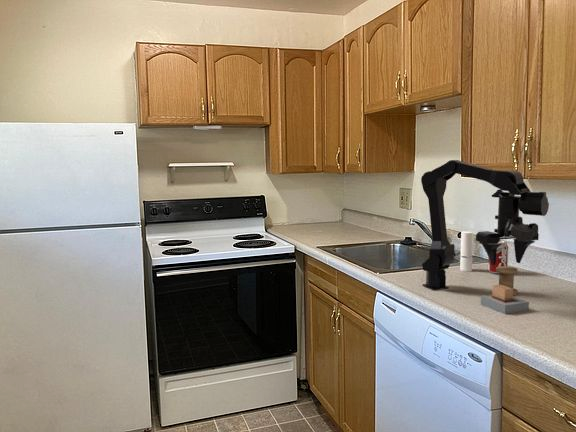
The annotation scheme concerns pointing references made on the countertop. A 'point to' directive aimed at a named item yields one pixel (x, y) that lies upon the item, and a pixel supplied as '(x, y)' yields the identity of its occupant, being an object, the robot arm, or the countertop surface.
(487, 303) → the grey u-shaped frame
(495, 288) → the orange tan block
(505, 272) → the knob
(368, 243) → the countertop surface
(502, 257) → the soda can
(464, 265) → the tube
